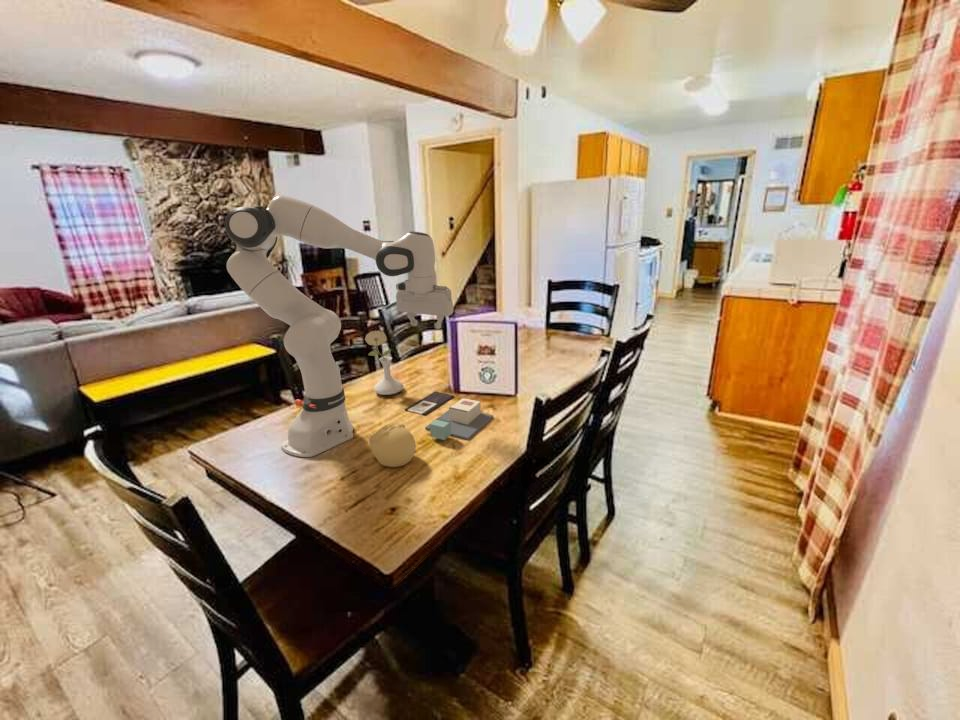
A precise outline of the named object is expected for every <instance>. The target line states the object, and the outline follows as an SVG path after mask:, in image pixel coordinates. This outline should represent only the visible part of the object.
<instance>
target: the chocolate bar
mask: <svg viewBox="0 0 960 720" xmlns="http://www.w3.org/2000/svg"><path fill="white" fill-rule="evenodd" d="M453 398H455V395H453V394H448V393H444V392H439V391H433V392H432V393H430V394H428V395H427V396H425V397H423V398H422V399H420V400H418V401H416V402H414V403H413V404H411V405H409V406H408V407H406V408H404V411H406V412H409V413H413V414H417V415H421V416H424V417H426V416H428V415H429V414H430V413H432V412H433V411H435V410H436V409H438V408H440V407H441V406H442V405H443V404H445V403H447V402H449V401H450V400H452V399H453Z"/></svg>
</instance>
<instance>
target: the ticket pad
mask: <svg viewBox="0 0 960 720" xmlns="http://www.w3.org/2000/svg"><path fill="white" fill-rule="evenodd" d="M481 407H482V403H481V401H478V400H473V399H468V398H463V397H462V398H461V399H459V400H458V401H456V403H454V404H453V405H451V406H450V407H448V410H446V411H444V413H443V414H441V415H439V416H438V417H437V418H438V419H442V420H447V421H451V435H450V436H449V437H455V438H459V439H462V440H466V441H469V440H470V439H471V438H472V437H473V436H475V435H476V434H477V433H478V432H479V431H480V430H481V429H483V427H485V425H487V424H488V423H489V422H490V421H491V420H492V419H493V418H494V414H489V413H486V412H485V413H484V412H482V408H481ZM425 430H426V431H430V423H429V424H428V425H426V426H425Z"/></svg>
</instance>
